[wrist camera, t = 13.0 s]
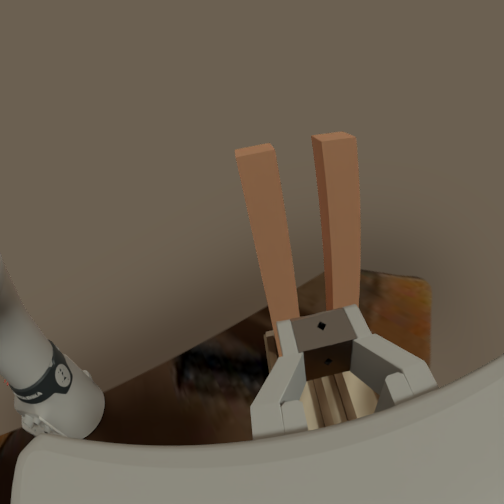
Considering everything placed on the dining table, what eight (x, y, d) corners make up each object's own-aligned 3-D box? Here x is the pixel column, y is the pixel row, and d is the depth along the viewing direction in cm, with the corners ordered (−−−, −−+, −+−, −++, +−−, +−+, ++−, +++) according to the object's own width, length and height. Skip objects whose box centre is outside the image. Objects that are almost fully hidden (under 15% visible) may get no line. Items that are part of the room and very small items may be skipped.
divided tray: (282, 458, 32) (280, 453, 30) (264, 338, 51) (262, 330, 50) (402, 425, 31) (405, 419, 30) (355, 317, 51) (355, 309, 50)
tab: (279, 359, 45) (235, 157, 28) (276, 341, 48) (234, 149, 32) (303, 353, 45) (274, 149, 28) (299, 336, 48) (269, 142, 32)
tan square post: (333, 345, 45) (321, 141, 28) (326, 328, 48) (311, 135, 32) (355, 339, 45) (356, 137, 28) (348, 322, 48) (342, 131, 32)
